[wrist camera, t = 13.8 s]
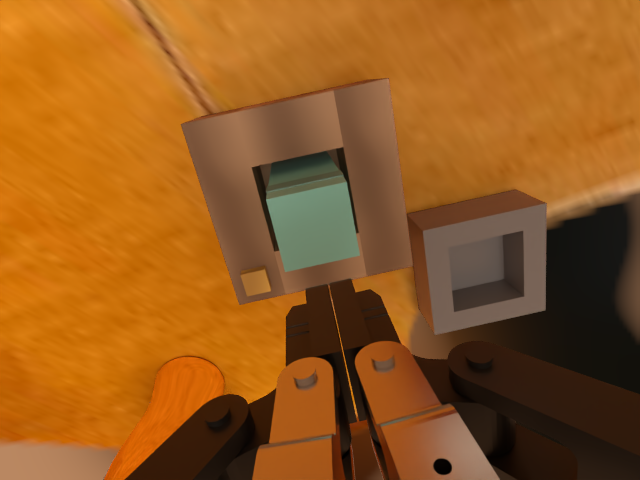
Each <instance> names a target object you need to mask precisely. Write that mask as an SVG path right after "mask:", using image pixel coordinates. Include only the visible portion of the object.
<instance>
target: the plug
mask: <svg viewBox="0 0 640 480" xmlns="http://www.w3.org/2000/svg"><path fill="white" fill-rule="evenodd" d="M266 194H267V196H266V202H267V205H268V209H269V213H270V217H271V221H272V224H273V228H274V232H275V236H276V240H277V243H278V247H279V251H280V255H281V258H282V262H283V266H284V270H285V272H288V271H293V270H297V269H302V268H306V267H311V266H315V265H320V264H324V263H329V262H333V261H338V260H342V259H347V258H351V257H356V256H360V253H359V247H358V242H357V236H356V231H355V225H354V219H353V214H352V208H351V203H350V197H349V192H348V186H347V182H346V180H345V178H344V175H343V173H342V172H341V170H339V169H338V168H337V166H336V165H335V163H334V162H333V160H332V159H331V157H330V155H329V154H328V152H327V151H323V152H318V153H314V154H309V155H305V156H300V157H296V158H291V159H287V160H282V161H278V162H273V163H272V165H271V171H270V178H269V184H268V186H267V188H266Z"/></svg>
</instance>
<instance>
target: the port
mask: <svg viewBox="0 0 640 480" xmlns="http://www.w3.org/2000/svg"><path fill="white" fill-rule="evenodd" d="M181 126H182V129H183V132H184V136H185V139H186V142H187V145H188V148H189V151H190V154H191V157H192V160H193V163H194V166H195V169H196V172H197V176H198V179H199V182H200V185H201V188H202V191H203V194H204V197H205V200H206V203H207V206H208V209H209V212H210V216H211V219H212V222H213V225H214V228H215V231H216V234H217V237H218V240H219V243H220V246H221V249H222V252H223V256H224V259H225V262H226V265H227V268H228V271H229V274H230V277H231V280H232V283H233V286H234V289H235V292H236V296H237V299H238V302H239V305H241V304H245V303H250V302H254V301H259V300H263V299H268V298H272V297H277V296H281V295H286V294H290V293H295V292H299V291H304V290H306V288H309V287H313V286H318V285H322V284H327V285H329V283H331V282H336V281H340V280H345V279H349V278H351V280H353V279H357V278H362V277H366V276H371V275H375V274H380V273H384V272H389V271H393V270H398V269H402V268H407V267H411V266H413V262H412V254H411V246H410V239H409V231H408V223H407V215H406V208H405V200H404V192H403V184H402V177H401V169H400V161H399V153H398V146H397V138H396V130H395V123H394V115H393V107H392V99H391V92H390V84H389V78H385V79H371V80H364V81H360V82H355V83H351V84H346V85H342V86H337V87H333V88H328V89H324V90H319V91H315V92H310V93H306V94H301V95H297V96H292V97H288V98H283V99H279V100H274V101H270V102H265V103H260V104H256V105H251V106H247V107H242V108H238V109H233V110H229V111H224V112H220V113H215V114H211V115H206V116H202V117H199V118H196V119H193V120H191V121H188V122H185V123H183V124H181ZM323 151H327V152H328V154H329V155H330V157H331V159H332V160H333V162H334V163H335V165H336V166H337V168H338V169H339V170H341V172H342V173H343V175H344V178H345V180H346V182H347V186H348V192H349V197H350V203H351V208H352V214H353V219H354V225H355V231H356V236H357V242H358V247H359V253H360V256H356V257H351V258H347V259H342V260H338V261H333V262H329V263H324V264H320V265H315V266H311V267H306V268H302V269H297V270H293V271H288V272H285V270H284V266H283V262H282V258H281V255H280V251H279V247H278V243H277V240H276V236H275V232H274V228H273V224H272V221H271V217H270V213H269V209H268V205H267V202H266V196H267V194H266V188H267V186H268V184H269V178H270V171H271V165H272V163H273V162H278V161H282V160H287V159H291V158H296V157H300V156H305V155H309V154H314V153H318V152H323Z"/></svg>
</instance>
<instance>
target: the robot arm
mask: <svg viewBox="0 0 640 480" xmlns="http://www.w3.org/2000/svg"><path fill="white" fill-rule="evenodd" d="M329 285H330V290H331V294H332V299H333V304H334V309H335V313H336V318H337V323H338V328H339V332H340V337H341V342H342V346H343V351H344V356H345V360H346V364H347V369H348V373H349V378H350V382H351V386H352V391H353V395H354V400H355V404H356V408H357V413H358V417H359V421H363V420H367V423H368V427H369V431H370V436H371V440H372V445H373V449H374V452H375V455H376V458H377V461H378V464H379V467H380V470H381V473H382V476H383V479H384V480H640V395H639V394H636V393H633V392H630V391H628V390H625V389H622V388H619V387H616V386H613V385H610V384H608V383H605V382H602V381H599V380H596V379H593V378H590V377H588V376H585V375H582V374H579V373H576V372H573V371H570V370H568V369H565V368H562V367H559V366H556V365H553V364H550V363H547V362H544V361H541V360H539V359H536V358H533V357H530V356H527V355H525V354H522V353H519V352H516V351H513V350H510V349H507V348H504V347H501V346H499V345H496V344H492V343H489V342H483V341H471V342H465V343H462V344H460V345H458V346H456V347H455V348H453V349H452V350H451V351H450V353H449V355H448V360H444V359H441V360H439V359H425V358H420V357H417V356H415V355H412V354H411V353H410V351H409V350H408V348H406V347H405V346H404V345H402V344H401V342H400V340H399V338H398V335H397V333H396V331H395V329H394V326H393V324H392V322H391V319H390V317H389V315H388V313H387V310H386V308H385V306H384V304H383V301H382V299H381V297H380V296H379V295H378V294H376V293H375V292H373V291H372V290H370V289H369V290H365V291H360V292H356V293H355V290H354V287H353V283H352V280H351V278H349V279H345V280H340V281H336V282H331V283H329ZM306 301H307V304H302V305H298V306H293V307H292V308H291V310H290V312H289V313H288V315H287V316H286V367H285V368H284V369H283V371H282V372H281V373H280V375H279V377H278V381H277V388H276V389H275V390H273V391H272V392H271V393H269V394H268V395H266V396H264V397H262V398H260V399H258V400H256V401H254V402H252V403H250V404H248V403H247V401H246V400H245V399H244V398H243V397H241V396H239V395H233V394H228V395H222V396H219V397H216V398H214V399H212V400H210V401H208V402H207V403H205V404H204V405H202V406H201V407H200V408H199V409H198V410H197V411H196V412H195V413H194V414H193V415H192V416H191V417H190V418H189V419H187V420H186V421H185V422H184V423H183V424H182V425H181V426H180V427H179V428H178V429H177V430H176V431H175V432H174V433H173V434H172V435H171V436H170V437H169V438H168V439H167V440H165V441H164V442H163V443H162V444H161V445H160V446H159V447H158V448H157V449H156V450H155V451H154V452H153V453H152V454H151V455H150V456H149V457H148V458H147V459H146V460H145V461H143V462H142V463H141V464H140V465H139V466H138V467H137V468H136V469H135V470H134V471H133V472H132V473H131V474H130V475H129V476H128V477H127V478H126V479H125V480H355V472H354V461H353V451H352V447H351V439H352V438H351V431H350V425H349V424H350V423H354V422H357V420H356V415H355V410H354V405H353V401H352V396H351V391H350V386H349V381H348V376H347V372H346V367H345V362H344V357H343V352H342V347H341V343H340V338H339V333H338V329H337V324H336V320H335V316H334V311H333V307H332V302H331V298H330V294H329V289H328V285H327V284H322V285H318V286H313V287H309V288H306ZM515 421H517V422H519V423H521V424H524V425H526V426H528V427H530V428H532V429H534V430H536V431H539V432H540V433H543V434H545V435H547V436H549V437H551V438H553V439H555V440H557V441H559V442H561V443H562V444H564V445H565V446H566V447H568V448H569V449H568V448H566V447H564V446H562V445H560V444H558V443H556V442H554V441H551V440H549V439H547V438H545V437H543V436H541V435H539V434H537V433H535V432H533V431H531V430H528V429H526V428H524V427H522V426H520V425H518V424H516V423H515Z"/></svg>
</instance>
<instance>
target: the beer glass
mask: <svg viewBox="0 0 640 480" xmlns="http://www.w3.org/2000/svg"><path fill="white" fill-rule="evenodd" d="M223 392H224V379H223V376H222V374H221V372H220V371H219V369H218V368H217V367H216V366H215V365H213V364H212V363H210V362H209V361H207V360H204V359H201V358H197V357H180V358H176V359H173V360H171V361H169V362H168V363H166V364H165V365H164V366H163V367H162V368H161V369H160V370H159V372H158V373H157V376H156V378H155V383H154V389H153V395H152V399H151V402H150V404H149V406H148V408H147V410H146V412H145V413H144V415H143V417H142V418H141V420H140V421H139V422H138V424H137V425H136V427H135V428H134V430H133V431H132V432H131V434H130V435H129V437H128V438H127V440H126V441H125V443H124V444H123V445H122V447H121V449H120V450H119V452H118V453H117V455H116V457H115V459H114V460H113V462H112V463H111V465H110V467H109V469H108V471H107V473H106V475H105V477H104V479H103V480H125V479H126V478H127V477H128V476H129V475H130V474H131V473H132V472H133V471H134V470H135V469H136V468H137V467H138V466H139V465H140V464H141V463H142V462H143V461H145V460H146V459H147V458H148V457H149V456H150V455H151V454H152V453H153V452H154V451H155V450H156V449H157V448H158V447H159V446H160V445H161V444H162V443H163V442H164V441H165V440H167V439H168V438H169V437H170V436H171V435H172V434H173V433H174V432H175V431H176V430H177V429H178V428H179V427H180V426H181V425H182V424H183V423H184V422H185V421H186V420H187V419H189V418H190V417H191V416H192V415H193V414H194V413H195V412H196V411H197V410H198V409H199V408H200V407H201V406H202V405H204V404H205V403H207V402H208V401H210V400H212V399H214V398H216V397H219V396H222V395H223Z"/></svg>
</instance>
